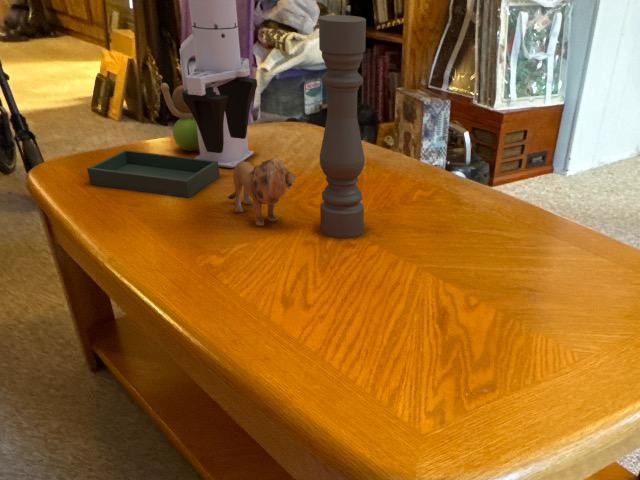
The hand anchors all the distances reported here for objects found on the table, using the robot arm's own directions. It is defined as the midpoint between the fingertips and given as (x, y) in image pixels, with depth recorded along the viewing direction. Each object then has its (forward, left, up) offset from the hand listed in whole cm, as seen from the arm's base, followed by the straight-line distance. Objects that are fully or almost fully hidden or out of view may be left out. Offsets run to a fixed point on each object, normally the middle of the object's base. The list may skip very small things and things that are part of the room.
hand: (226, 144), depth 94 cm
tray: (-10, -18, -10) cm, 23 cm away
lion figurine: (-1, +4, -10) cm, 11 cm away
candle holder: (0, +17, -10) cm, 19 cm away
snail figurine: (-27, -21, -10) cm, 36 cm away
